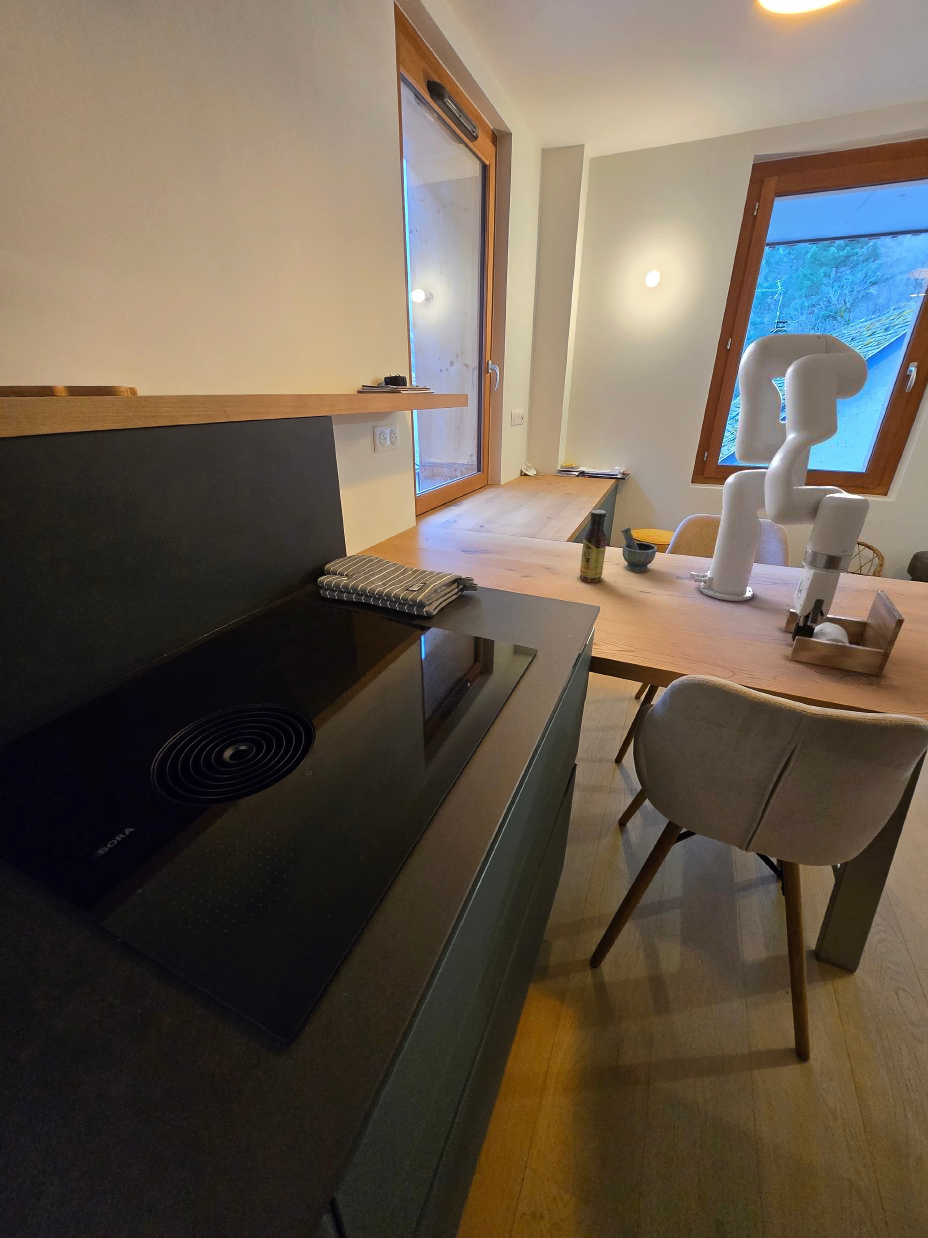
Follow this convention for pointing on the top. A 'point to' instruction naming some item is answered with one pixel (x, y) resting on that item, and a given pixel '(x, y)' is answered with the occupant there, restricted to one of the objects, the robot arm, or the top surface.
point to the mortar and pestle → (637, 552)
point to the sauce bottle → (594, 548)
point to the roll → (830, 633)
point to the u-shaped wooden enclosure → (853, 639)
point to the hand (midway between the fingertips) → (800, 641)
